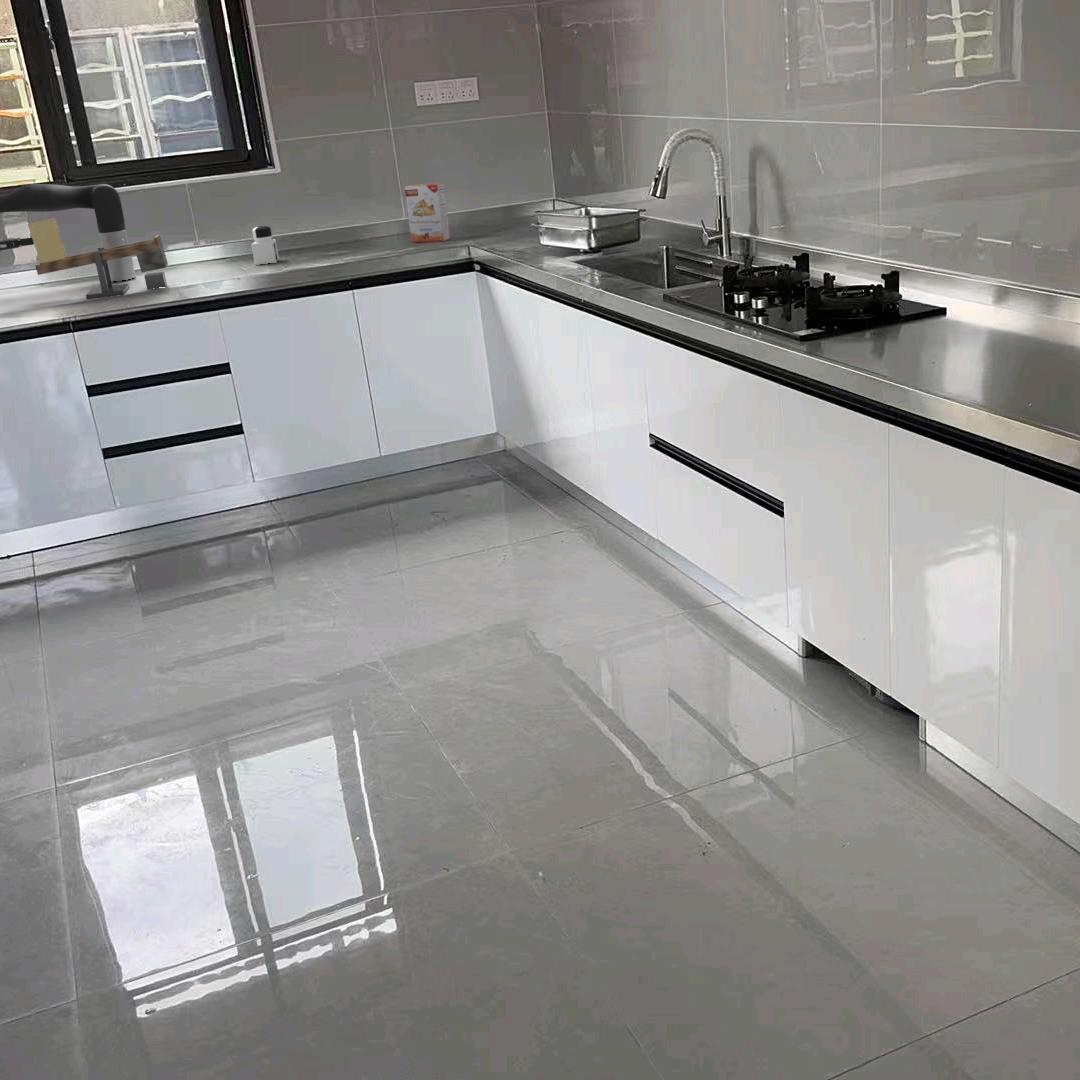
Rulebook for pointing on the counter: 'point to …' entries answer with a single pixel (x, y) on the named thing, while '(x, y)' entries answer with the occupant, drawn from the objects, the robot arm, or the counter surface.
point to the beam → (115, 257)
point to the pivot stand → (113, 290)
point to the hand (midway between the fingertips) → (33, 241)
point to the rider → (47, 240)
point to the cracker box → (427, 212)
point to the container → (264, 246)
